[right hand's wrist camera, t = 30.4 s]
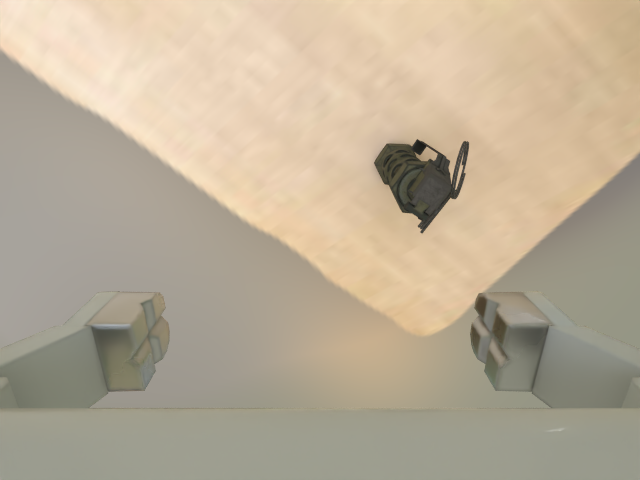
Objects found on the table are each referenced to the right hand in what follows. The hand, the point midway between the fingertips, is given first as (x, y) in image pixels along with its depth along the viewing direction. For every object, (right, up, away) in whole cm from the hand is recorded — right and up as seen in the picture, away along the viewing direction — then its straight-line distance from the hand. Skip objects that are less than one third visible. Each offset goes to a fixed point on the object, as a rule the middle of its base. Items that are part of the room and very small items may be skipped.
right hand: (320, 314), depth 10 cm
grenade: (+10, +11, +35) cm, 39 cm away
